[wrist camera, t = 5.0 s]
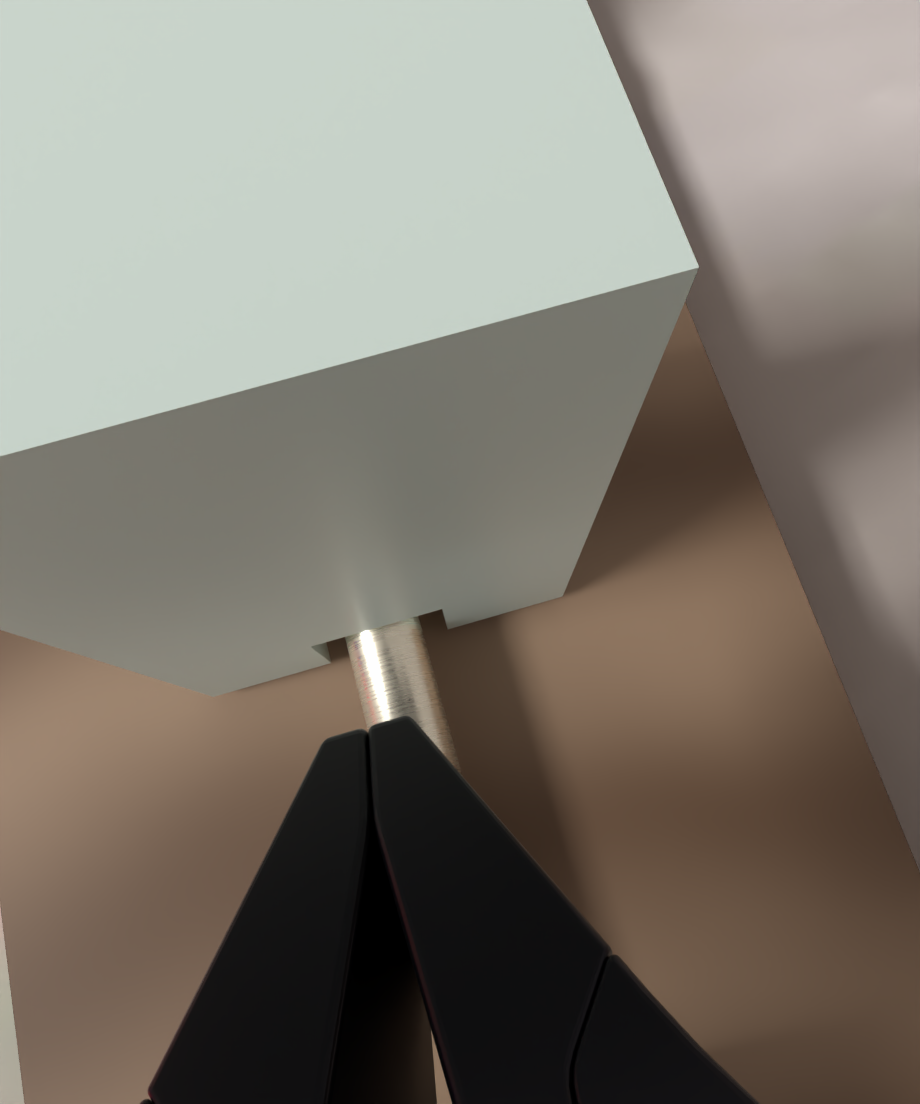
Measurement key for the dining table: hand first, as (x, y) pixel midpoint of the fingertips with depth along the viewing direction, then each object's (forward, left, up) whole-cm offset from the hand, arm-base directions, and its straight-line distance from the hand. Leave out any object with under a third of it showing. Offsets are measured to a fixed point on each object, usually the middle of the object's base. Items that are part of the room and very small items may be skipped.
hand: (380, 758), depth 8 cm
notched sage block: (+4, -1, -5) cm, 7 cm away
